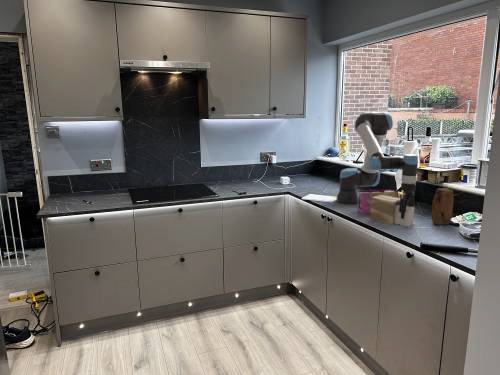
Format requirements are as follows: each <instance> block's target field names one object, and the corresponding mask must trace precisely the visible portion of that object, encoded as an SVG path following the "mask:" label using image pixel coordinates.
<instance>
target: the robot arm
mask: <svg viewBox="0 0 500 375" xmlns="http://www.w3.org/2000/svg"><path fill="white" fill-rule="evenodd" d="M393 123H394V121H393V116H392V115H391V113H390V112H387V111H372V112H371V111H365V112H362V113H361V114H359V116H357V118H356V120H355V122H354V129H355V132H356V134H358V135H359V136H360V137H359V138H361V141H362V143H363V146H364V148H365V149H366V152H365V158H364V162H363V165H362V166H361V167H360V169H359V170H358V168H356V167H355V168H354V167H347V168H344V169H342V170H341V171H340V175H339V191H338V194H337V196H336V202H337V203H340V204H347V205H354V204H355V205H356V204H358V200H359V194H358V191H357V190H358V189H357V188H364V187H369V188H371V187H375V186H377V185H378V184H379V183H380V179H381V177H380V176H381V173H380V171H383V170H384V171H387V170H388V171H389V170H395V171H396V170H399V171H400V170H401V183H400V189H401V190H402V194H400V195H399V198H400V205H399V212H400V213H401V218H400V224H404V225H405V223H406V213H405V212H406V208H407V206H410V207H414V208H415V196H416V186H417V184H416V183H417V180H418V176H417V175H418V174H417V173H418V164H419V156H418V154H412V153H411V154H404V155H394V156H393V155H392V156H385V155H384V153H383V151H382V145H383V141H384V137H385V136H386V135H387V134H388V131H391V130H392V128H393V125H394V124H393Z"/></svg>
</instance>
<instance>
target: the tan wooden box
mask: <svg viewBox="0 0 500 375" xmlns="http://www.w3.org/2000/svg"><path fill="white" fill-rule="evenodd" d="M395 204H399V205H400V197H398V198H396V197H390V196H384V195H378V196H375V197H372V198H371V213H370V215H369V219H370V220H371V219H373V220H372V221H376V220H378V221H377V222H380V221H382V222H381V223H385V222H386V223H385V224H389V223H390V225H394V210H395Z"/></svg>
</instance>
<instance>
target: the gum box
mask: <svg viewBox="0 0 500 375" xmlns="http://www.w3.org/2000/svg"><path fill="white" fill-rule="evenodd" d="M378 195H384V196H390V197H396V198H399V197H398V196H399V192H398V191H397V190H394V189H366V190H365V189H364V190H358V198H359V200H358V203H357V211H358V212H360V214H362V215H364V214H365V215H369V214H370V213H371V198H372V197H375V196H378Z"/></svg>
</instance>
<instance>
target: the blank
mask: <svg viewBox="0 0 500 375" xmlns="http://www.w3.org/2000/svg"><path fill="white" fill-rule="evenodd" d="M405 213H406V223H405V225H404V224H400V218H401V213H400V212H399V204H395V210H394V223H395V225H398V224H400V225H399V226H403V225H404V227H407V226H408V227H410V226H412V225H414V217H415V216H414V215H415V206H414V207H410V206H407V208H406V212H405Z"/></svg>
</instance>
